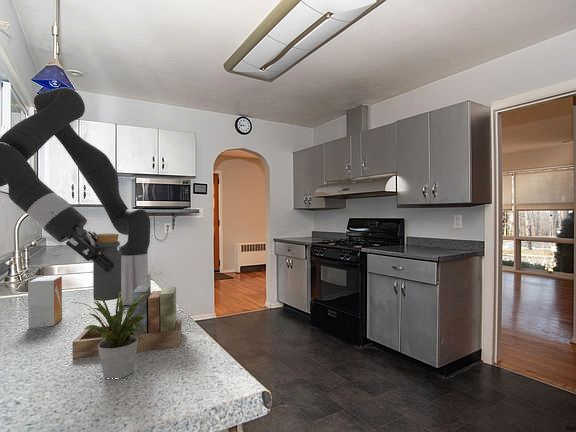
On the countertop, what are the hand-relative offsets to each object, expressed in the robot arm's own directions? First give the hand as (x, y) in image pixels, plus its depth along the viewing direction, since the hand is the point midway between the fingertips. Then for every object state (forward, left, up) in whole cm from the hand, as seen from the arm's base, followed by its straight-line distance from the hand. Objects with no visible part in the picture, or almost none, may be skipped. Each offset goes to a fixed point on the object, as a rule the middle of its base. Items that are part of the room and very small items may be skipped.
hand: (115, 266), depth 80 cm
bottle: (+1, -1, -7) cm, 8 cm away
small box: (+2, -35, -19) cm, 40 cm away
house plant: (+8, +14, -19) cm, 25 cm away
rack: (-3, +2, -19) cm, 19 cm away
